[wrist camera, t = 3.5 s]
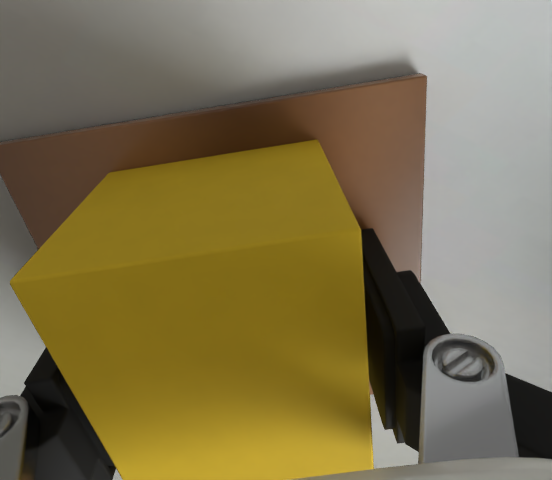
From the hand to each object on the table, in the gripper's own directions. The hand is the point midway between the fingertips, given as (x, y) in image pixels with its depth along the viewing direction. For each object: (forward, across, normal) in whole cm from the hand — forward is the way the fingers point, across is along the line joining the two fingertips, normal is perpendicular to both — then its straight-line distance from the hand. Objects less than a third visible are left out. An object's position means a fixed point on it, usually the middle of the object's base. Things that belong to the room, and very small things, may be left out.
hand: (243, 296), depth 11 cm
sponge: (0, 0, 0) cm, 0 cm away
